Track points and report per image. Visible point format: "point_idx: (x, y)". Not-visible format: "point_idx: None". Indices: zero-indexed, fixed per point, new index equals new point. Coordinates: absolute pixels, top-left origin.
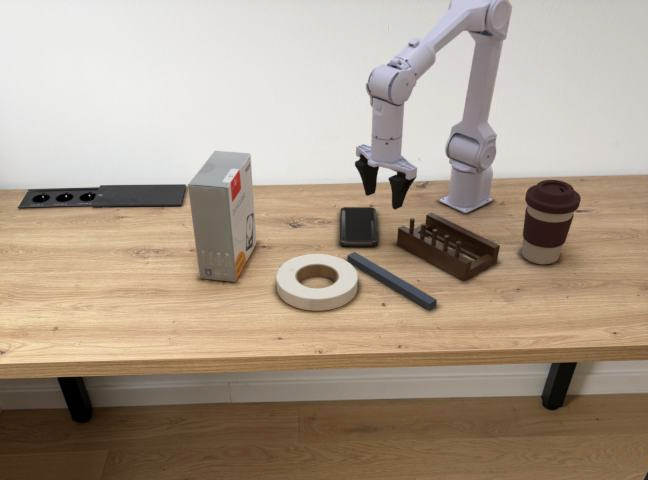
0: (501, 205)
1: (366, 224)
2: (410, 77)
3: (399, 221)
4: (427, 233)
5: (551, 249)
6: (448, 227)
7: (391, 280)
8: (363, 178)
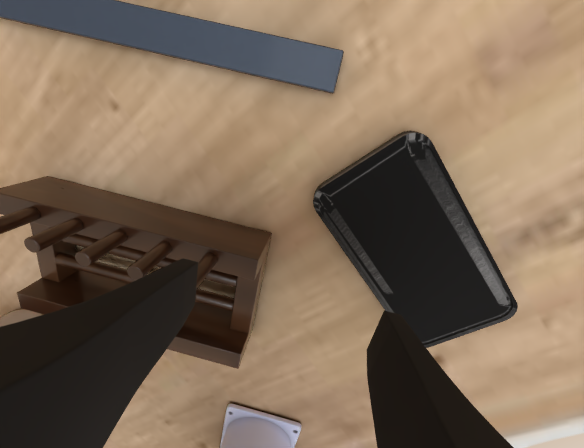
0: (200, 443)
1: (393, 268)
2: None
3: (331, 329)
4: (216, 297)
5: None
6: None
7: (121, 6)
8: (450, 408)
